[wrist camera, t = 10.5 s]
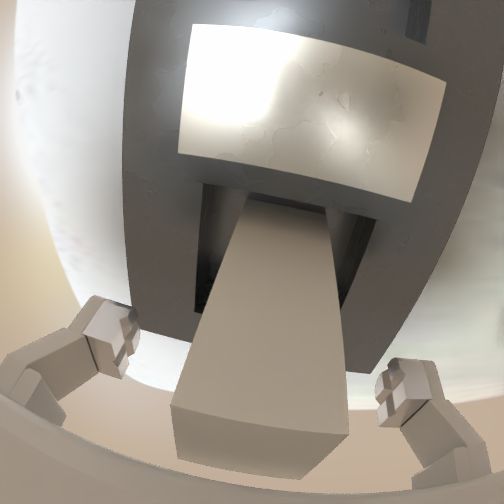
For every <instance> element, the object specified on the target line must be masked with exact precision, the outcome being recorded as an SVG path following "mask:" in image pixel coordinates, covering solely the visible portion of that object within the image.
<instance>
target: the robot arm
mask: <svg viewBox="0 0 504 504" xmlns="http://www.w3.org/2000/svg"><path fill="white" fill-rule="evenodd" d="M137 318H138V312H137V309H136V308H134V307H131V306H128V305H125V304H122V303H118V302H115V301H112V300H109V299H106V298H102V297H99V296H96V295H94V296H92V297H90V299H89V300H88V301H87V303H86V304H85V305H84V307H83V308H82V309H81V311H80V312H79V314H78V315H77V316H76V318H75V319H74V320H73V322H72V323H71V325H70V326H69V327H68V329H67V328H62V329H60V330H58V331H56V332H53V333H52V334H49V335H47V336H45V337H43V338H41V339H39V340H37V341H35V342H32V343H30V344H28V345H26V346H24V347H22V348H20V349H18V350H16V351H14V352H12V353H10V354H8V355H7V356H6V358H5V359H4V360H3V362H2V363H1V365H0V504H504V470H503V471H500V472H496V473H493V474H492V472H491V467H490V461H489V456H488V452H487V447H486V443H485V441H484V440H483V439H482V438H481V437H480V436H479V434H478V433H477V432H476V431H475V430H474V428H473V427H472V426H471V425H470V424H469V423H468V422H467V420H466V419H465V418H464V417H463V416H462V415H461V414H460V412H459V411H458V410H457V409H456V408H455V407H454V406H453V404H452V403H451V402H450V401H449V400H445V397H444V393H443V390H442V386H441V382H440V379H439V375H438V372H437V369H436V365H435V363H434V362H433V361H428V360H418V359H405V358H393V359H391V360H390V362H389V363H388V369H387V370H386V371H384V372H382V373H381V374H380V376H379V377H378V379H377V382H376V385H375V399H376V400H377V401H378V403H379V404H380V406H379V407H378V409H377V416H378V426H379V427H394V428H400V430H401V432H402V433H403V435H404V437H405V438H406V440H407V442H408V443H409V445H410V446H411V448H412V449H413V451H414V453H415V454H416V456H417V458H418V459H419V461H420V463H421V464H422V466H423V468H424V469H423V470H421V471H420V472H418V473H416V474H415V475H414V476H413V477H412V490H404V491H394V492H380V493H360V494H324V493H302V492H288V491H279V490H270V489H262V488H255V487H247V486H241V485H235V484H230V483H224V482H219V481H214V480H209V479H205V478H201V477H197V476H192V475H188V474H184V473H180V472H177V471H173V470H170V469H166V468H163V467H159V466H156V465H153V464H150V463H147V462H144V461H141V460H138V459H135V458H132V457H129V456H126V455H123V454H121V453H118V452H115V451H113V450H111V449H108V448H106V447H103V446H101V445H98V444H96V443H93V442H91V441H89V440H87V439H84V438H82V437H80V436H78V435H76V434H73V433H71V432H69V431H67V430H65V429H63V428H61V426H62V424H63V422H64V420H65V418H66V414H65V412H64V410H63V409H62V407H61V406H60V404H59V403H58V401H59V400H60V399H62V398H63V397H65V396H66V395H68V394H69V393H70V392H72V391H73V390H75V389H76V388H78V387H79V386H81V385H82V384H84V383H85V382H86V381H88V380H89V379H91V378H92V377H93V376H95V375H96V374H98V372H101V373H103V374H106V375H109V376H112V377H115V378H119V379H122V377H123V375H124V373H125V371H126V369H127V367H128V365H129V361H128V357H129V356H130V355H132V354H134V353H135V351H136V349H137V347H138V343H139V339H140V326H139V325H138V324H137V322H136V320H137Z"/></svg>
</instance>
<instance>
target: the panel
mask: <svg viewBox="0 0 504 504" xmlns="http://www.w3.org/2000/svg"><path fill="white" fill-rule="evenodd" d="M503 65H504V0H136V3H135V8H134V14H133V21H132V28H131V35H130V42H129V51H128V60H127V70H126V81H125V95H124V112H123V141H122V183H123V213H124V231H125V245H126V257H127V268H128V278H129V287H130V295H131V303H132V307H134V308H136V309H137V312H138V318H137V320H136V322H137V324H138V325H139V326H140V329H142V330H146V331H149V332H153V333H156V334H160V335H164V336H167V337H171V338H175V339H179V340H183V341H187V342H191V343H192V342H193V339H194V336H195V333H196V331H197V328H198V325H199V322H200V320H201V317H202V314H203V312H204V309H205V306H206V303H207V301H208V298H209V295H210V293H211V290H212V287H213V285H214V282H215V279H216V277H217V274H218V271H219V269H220V266H221V263H222V261H223V258H224V255H225V253H226V250H227V248H228V245H229V242H230V240H231V237H232V234H233V232H234V229H235V227H236V224H237V222H238V219H239V216H240V214H241V211H242V209H243V206H244V204H245V201H246V199H252V200H258V201H263V202H268V203H273V204H277V205H282V206H287V207H292V208H296V209H301V210H306V211H310V212H315V213H319V214H324V215H326V216H327V222H328V228H329V234H330V240H331V247H332V254H333V261H334V268H335V275H336V283H337V290H338V299H339V307H340V316H341V325H342V335H343V346H344V358H345V370H346V371H348V372H357V373H366V374H371V372H372V371H373V369H374V368H375V366H376V365H377V364H378V362H379V361H380V359H381V358H382V356H383V355H384V353H385V352H386V350H387V349H388V347H389V346H390V344H391V342H392V341H393V339H394V338H395V336H396V335H397V333H398V331H399V330H400V328H401V327H402V325H403V323H404V322H405V320H406V318H407V317H408V315H409V313H410V312H411V310H412V308H413V306H414V305H415V303H416V301H417V299H418V298H419V296H420V294H421V292H422V290H423V289H424V287H425V285H426V283H427V281H428V279H429V277H430V275H431V274H432V272H433V270H434V268H435V266H436V264H437V262H438V260H439V258H440V256H441V254H442V252H443V249H444V247H445V245H446V243H447V241H448V239H449V237H450V234H451V232H452V230H453V228H454V225H455V223H456V221H457V219H458V216H459V214H460V211H461V209H462V206H463V204H464V202H465V199H466V196H467V194H468V191H469V189H470V186H471V183H472V181H473V178H474V175H475V172H476V169H477V166H478V163H479V160H480V157H481V154H482V151H483V148H484V145H485V141H486V138H487V135H488V131H489V128H490V124H491V120H492V116H493V112H494V108H495V104H496V100H497V96H498V91H499V86H500V81H501V76H502V71H503Z"/></svg>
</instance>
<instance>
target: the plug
mask: <svg viewBox="0 0 504 504" xmlns="http://www.w3.org/2000/svg"><path fill="white" fill-rule="evenodd" d="M170 406H171V414H172V423H173V429H174V437H175V444H176V450H177V457H178V459H182V460H185V461H189V462H193V463H198V464H202V465H206V466H211V467H215V468H220V469H225V470H230V471H236V472H241V473H248V474H255V475H261V476H268V477H277V478H286V479H297V480H300V479H302V478H303V477H304V476H305V475H306V474H307V473H309V472H310V471H311V470H312V469H313V468H314V467H315V466H317V465H318V464H319V463H320V462H321V461H322V460H323V459H324V458H325V457H326V456H327V455H328V454H330V453H331V452H332V451H333V450H334V449H335V448H336V447H337V446H338V445H339V444H340V443H341V442H342V441H343V440H344V439H345V438H346V437H347V436H348V435H349V422H348V401H347V384H346V370H345V358H344V346H343V335H342V325H341V316H340V307H339V299H338V290H337V283H336V275H335V268H334V261H333V254H332V247H331V240H330V234H329V228H328V222H327V216H326V215H324V214H319V213H315V212H310V211H306V210H301V209H296V208H292V207H287V206H282V205H277V204H273V203H268V202H263V201H258V200H252V199H246V201H245V204H244V206H243V209H242V211H241V214H240V216H239V219H238V222H237V224H236V227H235V229H234V232H233V234H232V237H231V240H230V242H229V245H228V248H227V250H226V253H225V255H224V258H223V261H222V263H221V266H220V269H219V271H218V274H217V277H216V279H215V282H214V285H213V287H212V290H211V293H210V295H209V298H208V301H207V303H206V306H205V309H204V312H203V314H202V317H201V320H200V322H199V325H198V328H197V331H196V333H195V336H194V339H193V342H192V344H191V347H190V350H189V353H188V356H187V358H186V361H185V364H184V367H183V370H182V373H181V375H180V378H179V381H178V384H177V387H176V390H175V392H174V395H173V398H172V401H171V404H170Z"/></svg>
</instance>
